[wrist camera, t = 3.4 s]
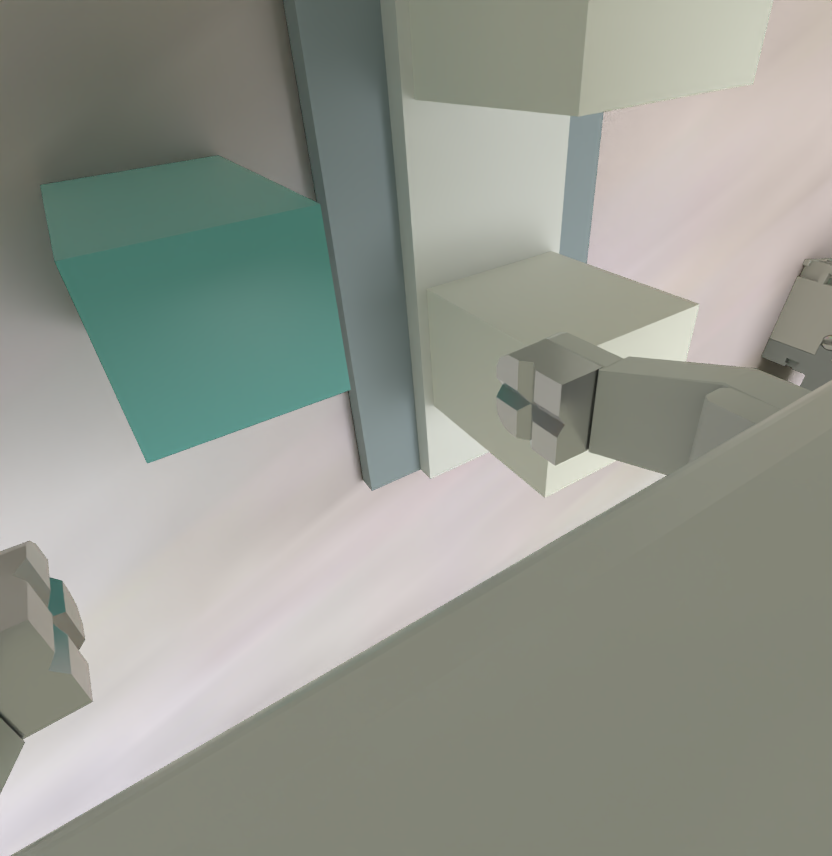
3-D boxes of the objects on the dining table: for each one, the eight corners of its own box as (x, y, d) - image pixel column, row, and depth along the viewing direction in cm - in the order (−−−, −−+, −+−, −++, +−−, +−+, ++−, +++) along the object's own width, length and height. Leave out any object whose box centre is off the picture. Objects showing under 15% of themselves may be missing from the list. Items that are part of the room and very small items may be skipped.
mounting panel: (219, -383, 14) (443, -869, 6) (626, -298, 19) (996, -515, 12) (363, 480, 30) (472, 612, 23) (560, 395, 35) (698, 480, 28)
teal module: (40, 184, 17) (53, 261, 11) (218, 155, 19) (320, 203, 13) (105, 333, 20) (147, 463, 14) (253, 293, 22) (350, 389, 16)
